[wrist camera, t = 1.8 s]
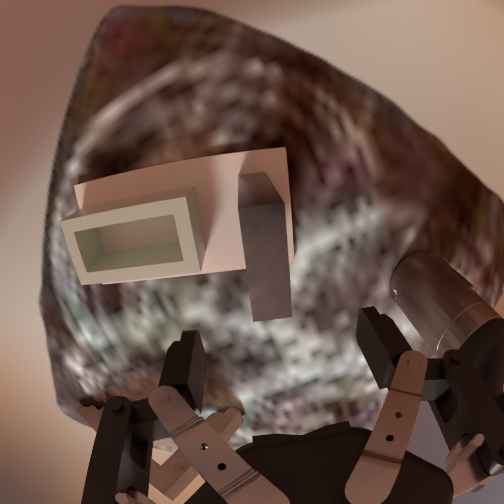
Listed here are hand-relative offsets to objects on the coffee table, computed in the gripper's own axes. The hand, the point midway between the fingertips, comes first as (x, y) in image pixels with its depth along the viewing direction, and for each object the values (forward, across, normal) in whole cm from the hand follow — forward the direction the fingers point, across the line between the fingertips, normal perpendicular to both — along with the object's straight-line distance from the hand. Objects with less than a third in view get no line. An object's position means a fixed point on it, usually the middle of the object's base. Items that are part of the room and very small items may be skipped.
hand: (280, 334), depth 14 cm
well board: (+22, +9, 0) cm, 24 cm away
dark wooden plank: (+21, 0, 0) cm, 21 cm away
